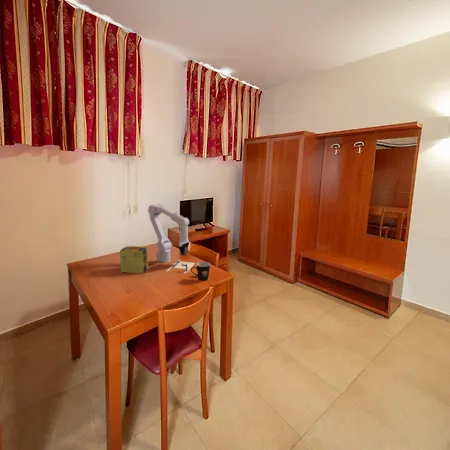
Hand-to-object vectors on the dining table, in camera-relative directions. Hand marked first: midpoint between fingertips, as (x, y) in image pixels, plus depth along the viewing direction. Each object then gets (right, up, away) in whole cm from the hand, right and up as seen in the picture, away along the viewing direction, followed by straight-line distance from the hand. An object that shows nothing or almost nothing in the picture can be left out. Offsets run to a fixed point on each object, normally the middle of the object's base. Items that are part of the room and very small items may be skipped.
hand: (183, 253), depth 182 cm
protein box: (-33, -11, -7) cm, 35 cm away
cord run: (-5, -8, +1) cm, 10 cm away
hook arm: (+2, -11, -10) cm, 15 cm away
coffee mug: (+14, -14, -19) cm, 27 cm away
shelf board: (-1, -11, -3) cm, 11 cm away
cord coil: (0, -1, 0) cm, 1 cm away
